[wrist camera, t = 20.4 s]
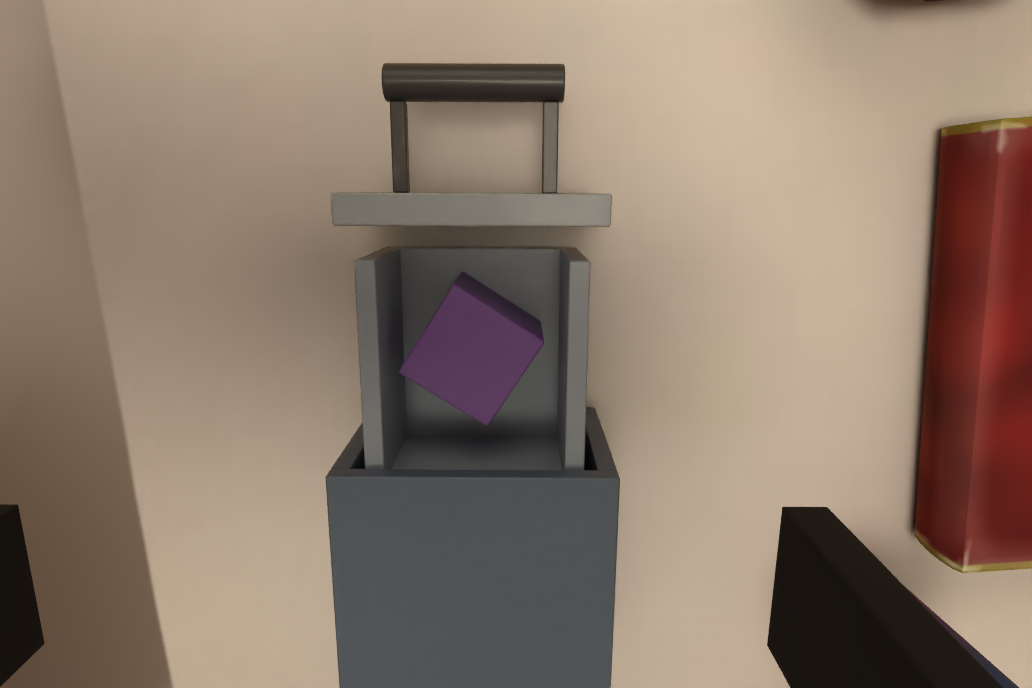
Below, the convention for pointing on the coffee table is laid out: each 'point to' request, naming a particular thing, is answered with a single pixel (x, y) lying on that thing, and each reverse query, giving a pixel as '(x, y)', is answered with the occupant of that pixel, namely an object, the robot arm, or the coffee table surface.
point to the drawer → (506, 270)
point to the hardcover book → (980, 353)
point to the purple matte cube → (474, 349)
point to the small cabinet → (474, 573)
